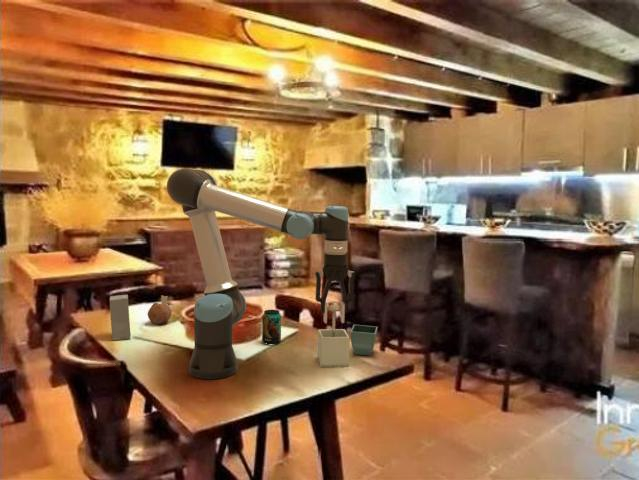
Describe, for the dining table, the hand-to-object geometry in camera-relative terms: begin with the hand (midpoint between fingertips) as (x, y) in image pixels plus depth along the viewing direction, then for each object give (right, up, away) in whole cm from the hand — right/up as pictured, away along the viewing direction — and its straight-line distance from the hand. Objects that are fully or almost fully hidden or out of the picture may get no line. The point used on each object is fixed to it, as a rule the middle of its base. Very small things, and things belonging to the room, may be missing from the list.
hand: (333, 321), depth 160 cm
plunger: (0, -12, +1) cm, 12 cm away
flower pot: (+11, -13, +11) cm, 21 cm away
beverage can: (-23, -11, +21) cm, 33 cm away
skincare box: (-81, -10, +22) cm, 84 cm away
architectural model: (-76, -6, +63) cm, 99 cm away
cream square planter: (0, -14, +1) cm, 14 cm away
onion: (-72, -8, +41) cm, 83 cm away
